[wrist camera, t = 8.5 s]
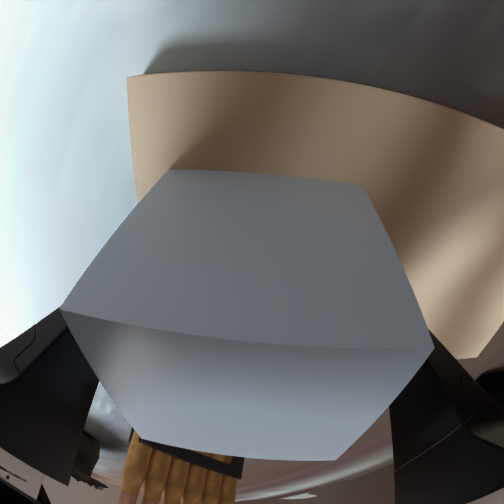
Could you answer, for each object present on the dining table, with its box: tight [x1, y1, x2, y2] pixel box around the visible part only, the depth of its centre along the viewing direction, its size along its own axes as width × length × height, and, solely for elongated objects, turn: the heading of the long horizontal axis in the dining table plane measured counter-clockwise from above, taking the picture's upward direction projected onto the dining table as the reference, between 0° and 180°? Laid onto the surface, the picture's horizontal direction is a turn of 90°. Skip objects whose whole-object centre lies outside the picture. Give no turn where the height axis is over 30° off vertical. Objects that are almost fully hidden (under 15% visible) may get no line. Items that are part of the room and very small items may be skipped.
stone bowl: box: [71, 433, 108, 490], centre depth 34 cm, size 25×25×9 cm
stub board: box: [127, 71, 504, 359], centre depth 10 cm, size 19×13×5 cm
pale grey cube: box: [59, 169, 434, 461], centre depth 9 cm, size 6×6×6 cm
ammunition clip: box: [118, 427, 244, 504], centre depth 18 cm, size 11×2×12 cm, turn 41°
